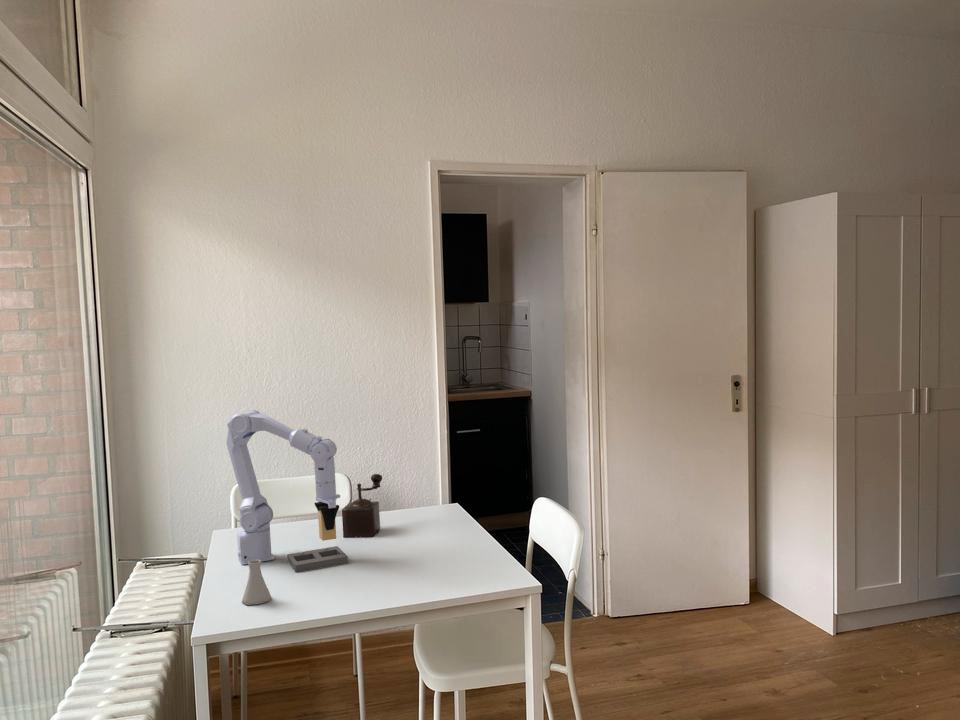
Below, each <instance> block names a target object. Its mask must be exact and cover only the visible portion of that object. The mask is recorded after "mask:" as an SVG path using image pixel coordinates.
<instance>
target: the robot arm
mask: <svg viewBox="0 0 960 720" xmlns="http://www.w3.org/2000/svg"><path fill="white" fill-rule="evenodd" d="M227 428H228V429H227V437H226V442H225V443H226V447H227V451H228V455H229V458H230V461H231V465H232V468H233V472H234V474H235V475H234V476H235V478H236V482H237V486H238V489H239V493H240V498H241V503H240V506H239V509H238V510H239V514H240V517H239V523H240V526H241V528H242V530H243V531H238V532H237V557H238V560H239V562H240V564H241V566H243V565H244V566H245V565H248V562H249V561H251V560H261V563H262V562H267V561H274V560H276V559H275V556H274V554H273V553H272V542H271V541H272V540H271V522H272V520H273V519H274V511H273V509H272V507H271V506H270V505H269V503H268V501H267V500H268V499H267V498H266V497H265V496H264V495H262V494H261V491H260V487H259V483H258V480H257V479H258V478H257V477H256V473H255V472H256V471H255V469H254V466H253V463H252V459H251V455H250V452H249V449H248V442H250V440H251V438H252V436H253V435H254V434H256V433H257V432H267V433H271V434H272V435H275V436H277V437H279V438H282V439H284V440H286V441H288V442H289V444H290V446H291V448H294V449H296V450H298V451H300V452H302V453H305V454H307V455H309V456H310V457H311V460H313V462H314V463H313V464H314V478H315V479H314V480H315V501H316V502H314V506H315V508H316V510H317V511H318V510H320V511H321V513H322V515H323V519H324V524H325V528H326V530H332V529H334V524H336V517H337V514H338V512H339V509H340V505H339V504H337V499H340V498H341V495H340V494H337V489H336V488H337V485H336V470H335V469H336V468H335V465H336V464H335V455H336V454H337V445H336V442H334V441H333V440H332V439H330V438H324V439H323V436H320V435H315V434H312V433H311V432H308V431H309V429H308V428H298V429H293V428H291V427H289V426H287V425H285V424H283V423H282V422H280V421H278V420H276V419H274V418H272V417H271V416H269V415H268V414H266V413H264V412H260V411H259V410H257V409H252V410H249V411H245V412H241V413H236V414H234V415H233V416H232V417H231V418H230V419H229V421H228V423H227Z"/></svg>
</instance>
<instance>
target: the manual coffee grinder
mask: <svg viewBox="0 0 960 720" xmlns="http://www.w3.org/2000/svg"><path fill="white" fill-rule="evenodd" d="M382 480H383V475H381V474H380V473H373V474H372V475H371V476H370V481H371V482H372V487H365V488H362V483H357V484H356V486H357V488H356V490H357V492H358V494H357V495H358V499H356V500H354V501H352V502H349V503H347V505H345V506H344V507H343V508H342V509H341V518H342V519H341V521H342V537H343V538H346V539H347V538H350V539H353V538H354V539H355V538H374V537H375V536H376V535H377V534H378V533H379V532H380V531H381V520H380V519H381V518H380V517H381V515H380V514H381V513H380V502H379V501H371V500H372V498H369V499H367V498H363V497H362V492H367V491H373V490H377V489H378V488H381V485H380V484H381V482H382Z"/></svg>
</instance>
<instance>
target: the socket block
mask: <svg viewBox="0 0 960 720" xmlns="http://www.w3.org/2000/svg"><path fill="white" fill-rule="evenodd" d="M286 558H287V562H288V564H289V565H290V567H291V568H292V569H293V571H294V572H295V573H301V572H306V571H311V570H317V569H324V568H328V567H333V566H340V565H341V566H342V565H347V564H348V563H349V557H348V555H347V553H345V552H344V551H343V550H342V549H341V548H340V547H339V546H338V545H337V546H329V547H324V548H316V549H311V550H310V549H309V550H306V551H299V552H298V551H297V552H294V553H287V554H286Z"/></svg>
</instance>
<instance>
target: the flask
mask: <svg viewBox="0 0 960 720" xmlns="http://www.w3.org/2000/svg"><path fill="white" fill-rule="evenodd" d="M261 564H262V562H261V560H251V561H249V562H248V564H247V565H248V569H249V573H248V579H247V582H246V586H245V589H244V592H243V597H242V598H241V599H242V600H241V603H242V604H244V605H245V606H250V605H251V606H252V605H254V606H255V605H260V604H264V603H267V602H270V600H271V599H272V595H271V592H270V590H269V588H268V587H267V584H266V582H265V580H264V577H263V573H262V570H261Z"/></svg>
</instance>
